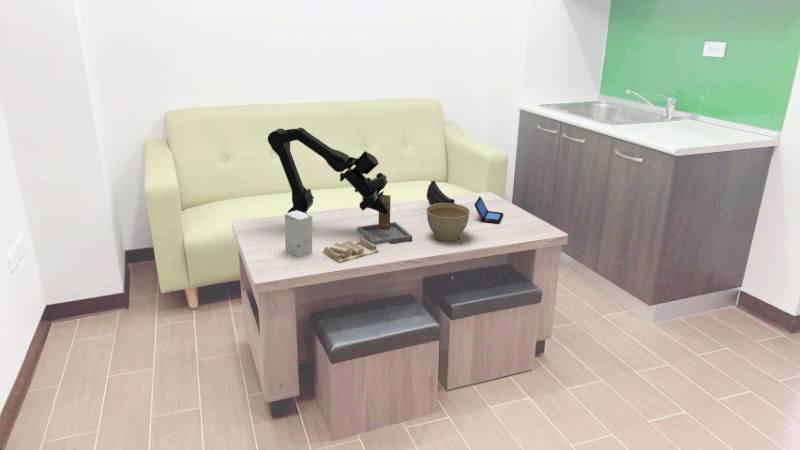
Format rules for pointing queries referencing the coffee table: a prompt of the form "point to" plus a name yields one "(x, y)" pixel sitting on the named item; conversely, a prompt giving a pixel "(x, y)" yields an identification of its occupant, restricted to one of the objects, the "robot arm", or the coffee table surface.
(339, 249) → the offcut
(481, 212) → the handheld game console
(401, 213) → the coffee table surface
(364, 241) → the offcut rack
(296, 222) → the skincare box
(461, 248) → the coffee table surface
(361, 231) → the tray
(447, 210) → the planter bowl
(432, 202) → the black curved fin
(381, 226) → the walnut block
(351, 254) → the offcut
